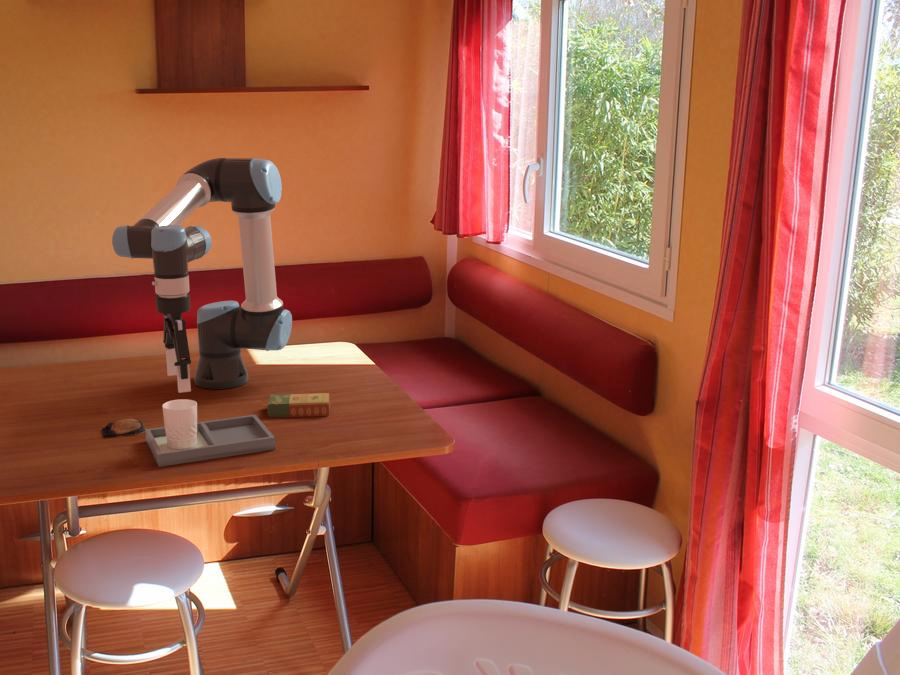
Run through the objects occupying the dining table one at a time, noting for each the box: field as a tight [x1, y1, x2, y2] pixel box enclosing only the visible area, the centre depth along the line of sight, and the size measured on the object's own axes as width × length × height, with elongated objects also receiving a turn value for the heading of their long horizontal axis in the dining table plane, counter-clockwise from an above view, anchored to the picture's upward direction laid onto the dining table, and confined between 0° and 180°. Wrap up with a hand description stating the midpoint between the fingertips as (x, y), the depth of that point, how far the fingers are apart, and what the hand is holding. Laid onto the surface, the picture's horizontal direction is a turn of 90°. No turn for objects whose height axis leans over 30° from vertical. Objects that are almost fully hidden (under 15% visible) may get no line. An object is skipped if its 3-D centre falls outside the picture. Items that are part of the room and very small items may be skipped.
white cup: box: [161, 398, 198, 449], centre depth 233 cm, size 8×8×10 cm
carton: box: [267, 392, 331, 418], centre depth 261 cm, size 8×16×4 cm, turn 96°
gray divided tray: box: [144, 414, 276, 468], centre depth 236 cm, size 18×27×3 cm, turn 115°
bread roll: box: [101, 418, 148, 439], centre depth 246 cm, size 11×8×4 cm
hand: (178, 383), depth 230 cm, fingers open, 13 cm apart
